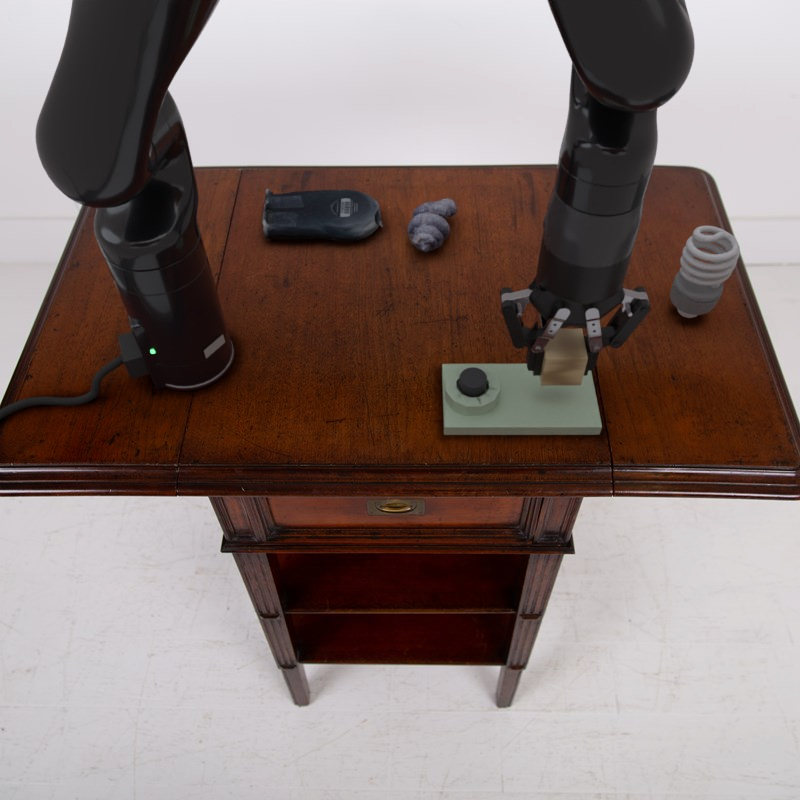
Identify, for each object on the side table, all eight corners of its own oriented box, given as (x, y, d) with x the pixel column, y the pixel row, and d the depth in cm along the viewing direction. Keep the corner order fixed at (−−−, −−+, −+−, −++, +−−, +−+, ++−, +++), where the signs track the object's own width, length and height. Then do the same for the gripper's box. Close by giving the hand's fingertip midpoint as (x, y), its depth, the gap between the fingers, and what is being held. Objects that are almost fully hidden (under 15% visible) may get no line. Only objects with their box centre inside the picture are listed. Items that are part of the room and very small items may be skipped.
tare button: (459, 397, 78) (460, 387, 77) (458, 376, 79) (459, 367, 78) (486, 397, 78) (487, 387, 76) (485, 376, 79) (486, 366, 78)
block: (540, 385, 75) (545, 359, 72) (536, 355, 78) (541, 328, 74) (581, 385, 75) (588, 358, 72) (575, 355, 78) (582, 328, 74)
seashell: (434, 220, 102) (421, 272, 96) (410, 192, 99) (395, 243, 93) (466, 204, 98) (455, 256, 93) (442, 174, 95) (429, 226, 90)
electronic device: (268, 259, 97) (383, 242, 96) (256, 222, 94) (375, 203, 92) (275, 222, 104) (382, 205, 103) (264, 185, 100) (375, 167, 99)
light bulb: (715, 306, 89) (751, 224, 80) (706, 338, 86) (742, 257, 76) (667, 293, 91) (696, 211, 81) (656, 324, 87) (685, 242, 78)
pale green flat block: (443, 435, 78) (444, 417, 76) (441, 371, 83) (442, 353, 81) (599, 435, 78) (605, 417, 75) (587, 371, 83) (592, 353, 81)
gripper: (506, 265, 61) (490, 398, 74) (685, 264, 60) (636, 398, 74) (499, 206, 65) (485, 342, 79) (665, 205, 65) (623, 341, 78)
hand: (559, 368), depth 76 cm, fingers closed on block, 4 cm apart
